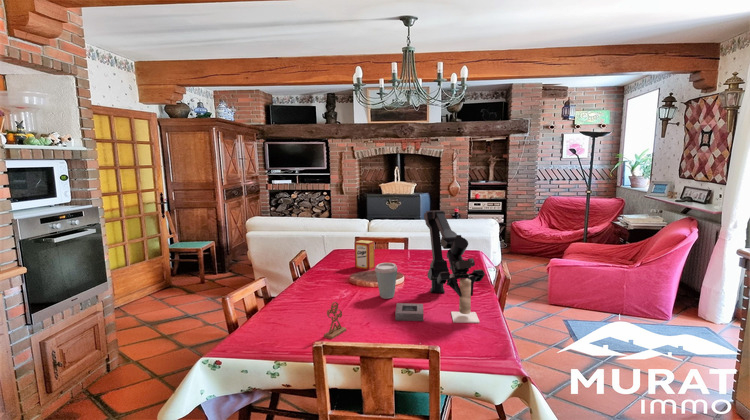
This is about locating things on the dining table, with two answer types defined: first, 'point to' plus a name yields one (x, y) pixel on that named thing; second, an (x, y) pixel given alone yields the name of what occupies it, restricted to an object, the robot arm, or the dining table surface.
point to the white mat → (465, 317)
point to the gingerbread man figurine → (338, 329)
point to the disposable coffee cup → (386, 279)
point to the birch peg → (465, 296)
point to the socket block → (409, 312)
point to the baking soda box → (364, 255)
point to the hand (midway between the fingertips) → (466, 295)
